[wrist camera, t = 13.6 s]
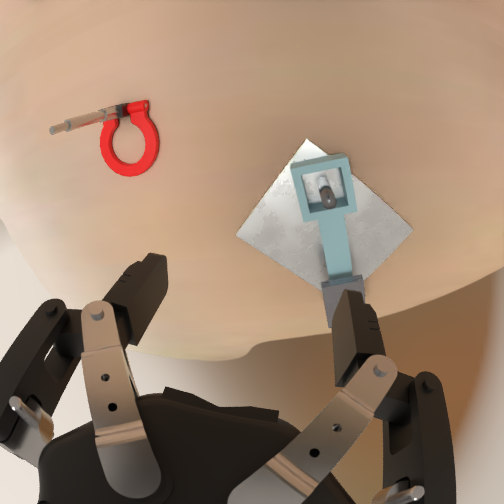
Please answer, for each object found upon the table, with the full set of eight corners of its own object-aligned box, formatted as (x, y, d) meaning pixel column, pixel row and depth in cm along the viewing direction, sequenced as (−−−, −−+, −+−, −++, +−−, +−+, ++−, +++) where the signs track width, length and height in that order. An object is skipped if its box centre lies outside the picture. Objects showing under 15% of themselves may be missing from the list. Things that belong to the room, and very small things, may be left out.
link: (290, 163, 31) (290, 169, 28) (342, 152, 29) (347, 157, 27) (318, 285, 38) (320, 299, 36) (362, 277, 37) (366, 290, 34)
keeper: (358, 291, 39) (366, 321, 34) (325, 297, 40) (328, 328, 35) (354, 252, 36) (363, 280, 31) (318, 259, 37) (321, 287, 32)
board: (306, 138, 30) (306, 139, 29) (411, 227, 33) (413, 229, 32) (236, 232, 37) (235, 235, 36) (339, 300, 40) (339, 303, 40)
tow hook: (165, 171, 35) (155, 97, 29) (105, 217, 23) (83, 110, 18) (110, 176, 36) (99, 110, 31) (46, 220, 24) (24, 133, 19)
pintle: (321, 174, 31) (328, 192, 25) (330, 181, 31) (339, 201, 25) (314, 183, 32) (319, 203, 26) (323, 190, 32) (330, 212, 26)
